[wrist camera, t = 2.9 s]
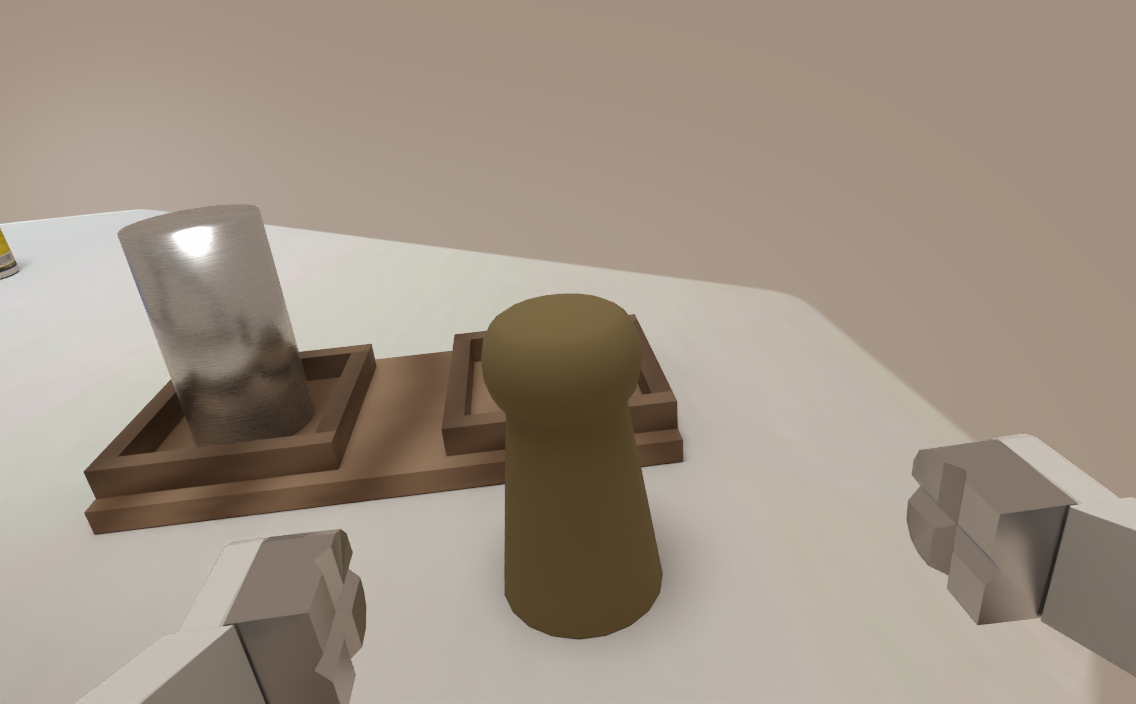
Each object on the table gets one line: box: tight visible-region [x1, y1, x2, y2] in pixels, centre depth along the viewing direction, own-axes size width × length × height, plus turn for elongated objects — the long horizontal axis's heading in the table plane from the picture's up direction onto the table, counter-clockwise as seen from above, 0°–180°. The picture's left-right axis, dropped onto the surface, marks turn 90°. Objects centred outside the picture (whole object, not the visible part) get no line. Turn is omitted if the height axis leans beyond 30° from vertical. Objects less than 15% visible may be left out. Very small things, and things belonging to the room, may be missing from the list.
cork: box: [481, 294, 662, 639], centre depth 24 cm, size 6×6×11 cm
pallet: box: [84, 314, 683, 534], centre depth 37 cm, size 27×13×3 cm, turn 96°
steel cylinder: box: [118, 205, 315, 447], centre depth 34 cm, size 6×6×11 cm
